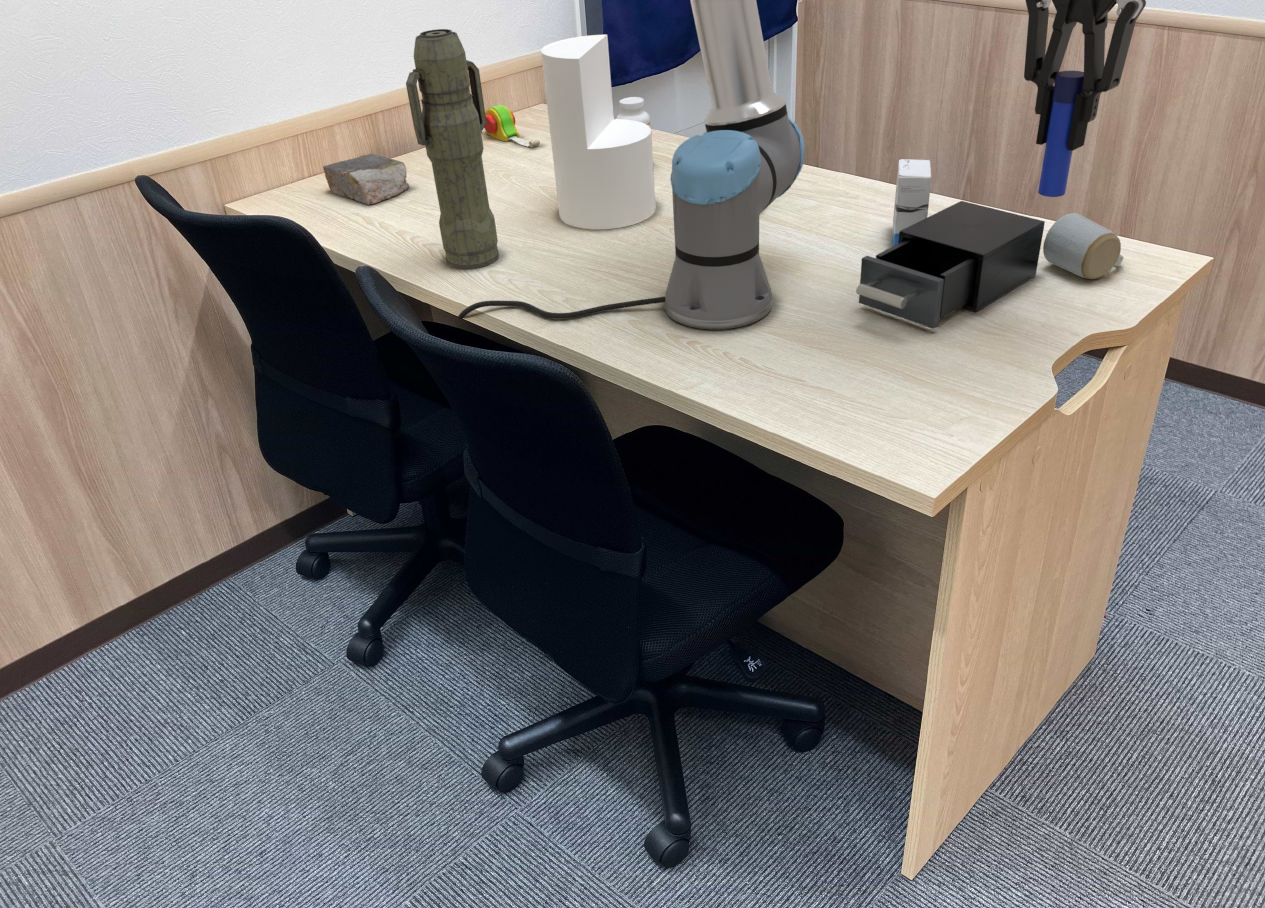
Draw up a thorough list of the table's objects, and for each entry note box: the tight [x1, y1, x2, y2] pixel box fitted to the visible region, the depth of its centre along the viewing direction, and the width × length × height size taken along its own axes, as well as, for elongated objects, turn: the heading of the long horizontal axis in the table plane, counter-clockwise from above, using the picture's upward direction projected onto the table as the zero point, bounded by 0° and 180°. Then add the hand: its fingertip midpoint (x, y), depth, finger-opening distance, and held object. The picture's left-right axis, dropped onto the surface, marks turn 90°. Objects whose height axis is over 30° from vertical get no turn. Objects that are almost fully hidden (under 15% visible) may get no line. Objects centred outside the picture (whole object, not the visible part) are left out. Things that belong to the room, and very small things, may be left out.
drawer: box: [856, 239, 979, 330], centre depth 136 cm, size 19×12×7 cm, turn 132°
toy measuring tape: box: [484, 104, 541, 148], centre depth 217 cm, size 6×20×7 cm, turn 40°
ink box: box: [891, 158, 932, 247], centre depth 155 cm, size 8×5×12 cm, turn 168°
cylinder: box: [540, 34, 657, 231], centre depth 170 cm, size 17×17×28 cm
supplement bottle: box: [615, 96, 651, 128], centre depth 194 cm, size 7×7×13 cm
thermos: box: [405, 28, 500, 270], centre depth 154 cm, size 9×12×35 cm
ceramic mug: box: [1042, 212, 1125, 280], centre depth 143 cm, size 11×8×8 cm
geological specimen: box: [322, 153, 410, 206], centre depth 195 cm, size 11×6×15 cm
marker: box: [1037, 70, 1084, 198], centre depth 122 cm, size 3×3×14 cm
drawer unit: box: [898, 200, 1046, 313], centre depth 142 cm, size 15×13×8 cm
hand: (1059, 144), depth 123 cm, fingers closed on marker, 3 cm apart
